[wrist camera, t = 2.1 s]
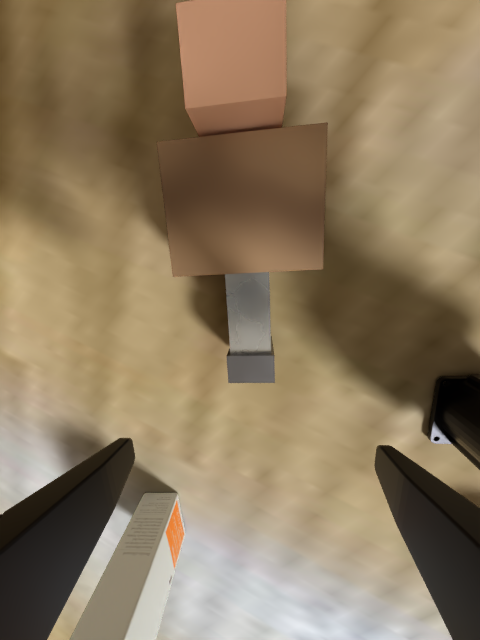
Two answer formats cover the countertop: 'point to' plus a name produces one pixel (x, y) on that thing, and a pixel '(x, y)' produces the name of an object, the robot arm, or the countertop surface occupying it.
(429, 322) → the countertop surface
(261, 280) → the shaft
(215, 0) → the block
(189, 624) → the countertop surface
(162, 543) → the skincare box
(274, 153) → the block
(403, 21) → the countertop surface
